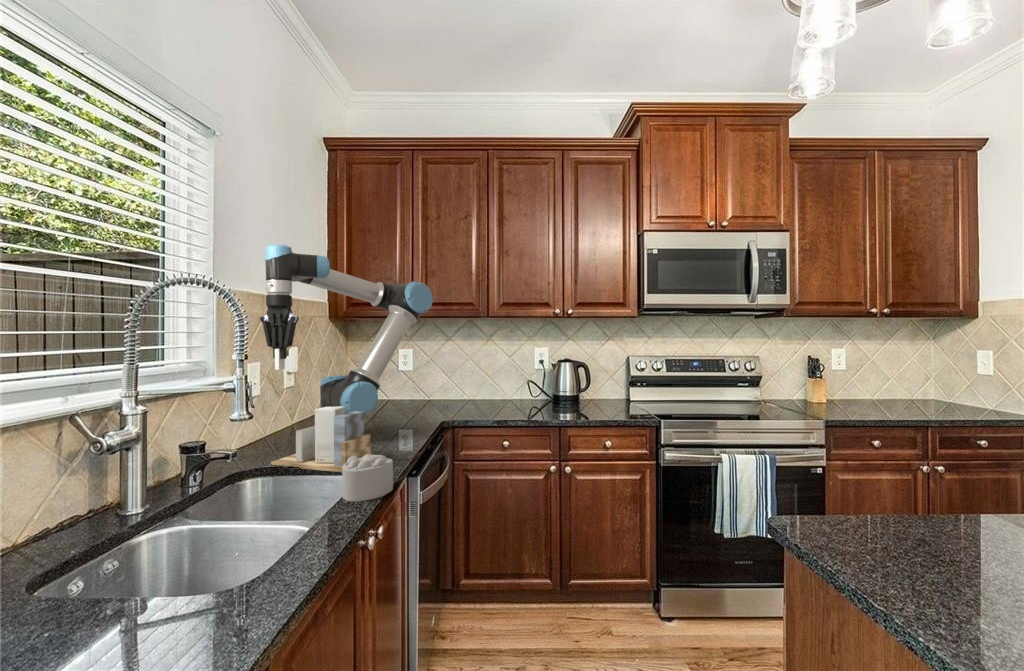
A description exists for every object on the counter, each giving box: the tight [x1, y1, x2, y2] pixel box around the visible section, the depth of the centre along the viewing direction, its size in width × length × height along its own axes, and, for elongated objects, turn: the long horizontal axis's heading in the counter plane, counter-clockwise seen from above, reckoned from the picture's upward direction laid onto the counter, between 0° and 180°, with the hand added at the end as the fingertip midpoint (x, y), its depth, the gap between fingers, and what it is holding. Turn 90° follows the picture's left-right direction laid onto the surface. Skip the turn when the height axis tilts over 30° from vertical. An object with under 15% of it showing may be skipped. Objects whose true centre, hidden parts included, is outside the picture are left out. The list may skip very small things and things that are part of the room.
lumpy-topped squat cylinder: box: [341, 454, 394, 502], centre depth 128 cm, size 10×13×9 cm
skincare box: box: [314, 406, 345, 463], centre depth 156 cm, size 8×7×16 cm
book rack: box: [270, 411, 372, 473], centre depth 156 cm, size 13×25×15 cm, turn 73°
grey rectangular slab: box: [295, 425, 315, 462], centre depth 157 cm, size 10×2×9 cm, turn 163°
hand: (279, 369), depth 166 cm, fingers closed
